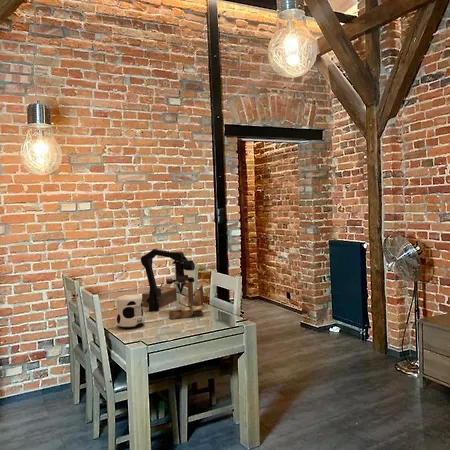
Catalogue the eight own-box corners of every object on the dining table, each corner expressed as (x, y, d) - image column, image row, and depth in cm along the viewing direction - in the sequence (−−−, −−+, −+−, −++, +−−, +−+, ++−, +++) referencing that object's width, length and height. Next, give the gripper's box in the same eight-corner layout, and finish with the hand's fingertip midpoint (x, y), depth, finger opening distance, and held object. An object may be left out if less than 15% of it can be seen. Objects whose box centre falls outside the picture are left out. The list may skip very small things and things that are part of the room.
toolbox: (170, 319, 285) (170, 313, 284) (168, 316, 294) (168, 309, 294) (204, 316, 290) (203, 309, 290) (201, 312, 300) (200, 306, 299)
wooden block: (203, 305, 323) (202, 280, 322) (189, 306, 320) (187, 281, 319) (202, 303, 326) (201, 279, 325) (188, 305, 324) (187, 280, 323)
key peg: (196, 312, 301) (195, 291, 300) (195, 311, 305) (194, 290, 304) (201, 311, 302) (200, 291, 301) (200, 310, 306) (199, 290, 305)
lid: (182, 311, 286) (182, 306, 286) (180, 308, 294) (180, 304, 293) (207, 308, 290) (207, 303, 290) (205, 306, 298) (205, 301, 298)
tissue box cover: (160, 299, 348) (159, 287, 348) (176, 300, 343) (176, 287, 342) (142, 307, 324) (142, 293, 324) (159, 308, 319) (159, 294, 319)
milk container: (120, 322, 282) (119, 294, 282) (148, 321, 282) (146, 293, 281) (113, 330, 265) (111, 300, 264) (142, 329, 265) (140, 299, 264)
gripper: (167, 273, 293) (168, 296, 294) (195, 270, 298) (196, 293, 298) (165, 270, 304) (166, 293, 304) (192, 268, 308) (193, 291, 309)
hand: (180, 293), depth 304 cm, fingers closed
